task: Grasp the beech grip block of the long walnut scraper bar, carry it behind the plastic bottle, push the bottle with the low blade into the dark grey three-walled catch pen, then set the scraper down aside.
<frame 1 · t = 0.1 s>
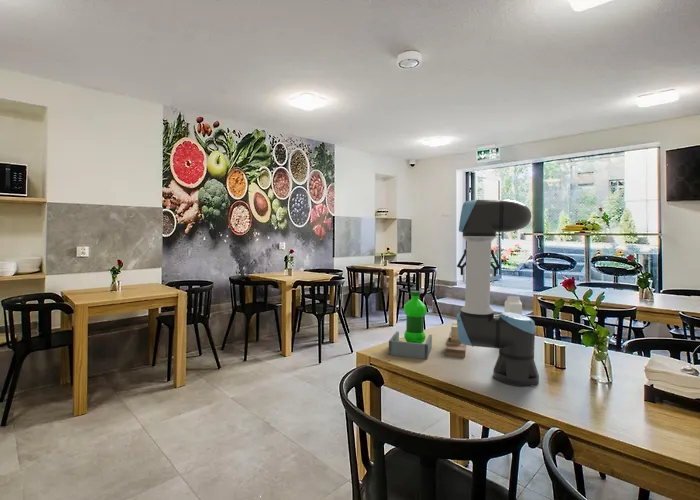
hand: (477, 282, 185), 28 cm above the table, fingers open, 13 cm apart
scraper: (456, 346, 172), on the table
milk: (512, 341, 181), on the table
catch pen: (410, 351, 165), on the table
plastic bottle: (414, 344, 175), on the table
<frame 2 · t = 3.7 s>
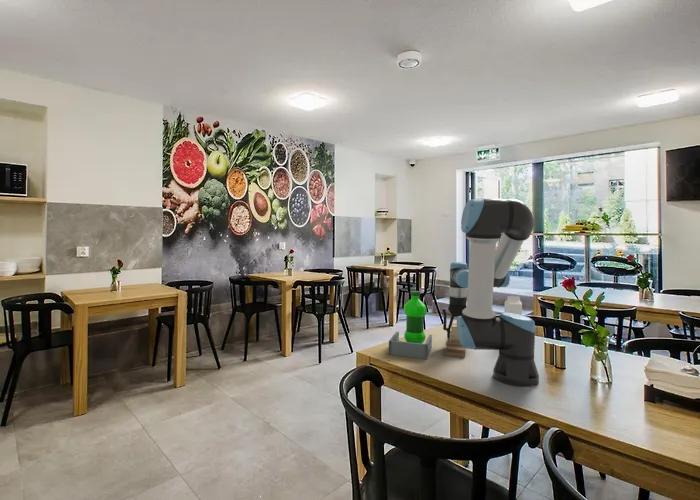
hand: (456, 346, 172), 0 cm above the table, fingers closed on scraper, 5 cm apart
scraper: (456, 346, 172), on the table, touching gripper
everything else where it was.
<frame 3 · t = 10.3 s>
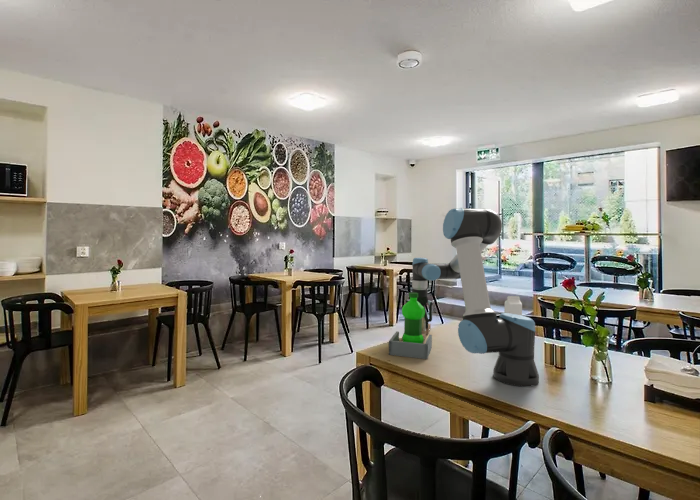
hand: (419, 334, 188), 1 cm above the table, fingers closed on scraper, 5 cm apart
scraper: (419, 334, 188), point 1 cm above the table, touching gripper
plastic bottle: (412, 347, 171), on the table
everything else where it was.
when the fingers open (1 cm above the table, at t = 16.4 s): scraper drops 1 cm, on the table.
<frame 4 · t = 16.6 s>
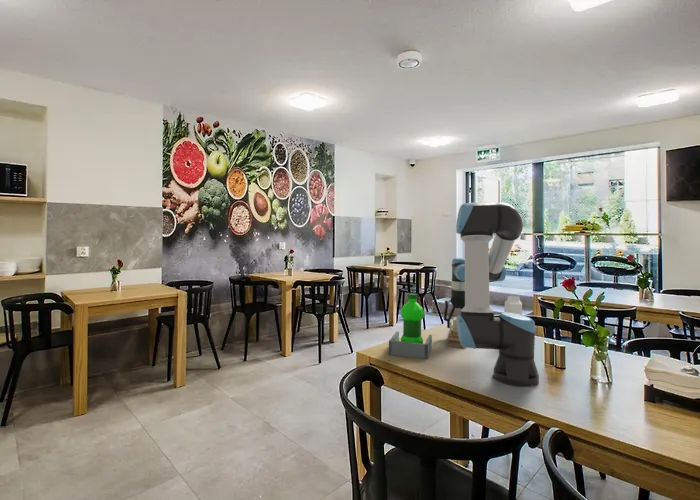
hand: (458, 335, 185), 2 cm above the table, fingers open, 7 cm apart
scraper: (458, 338, 185), on the table
plastic bottle: (411, 349, 168), on the table
everything else where it was.
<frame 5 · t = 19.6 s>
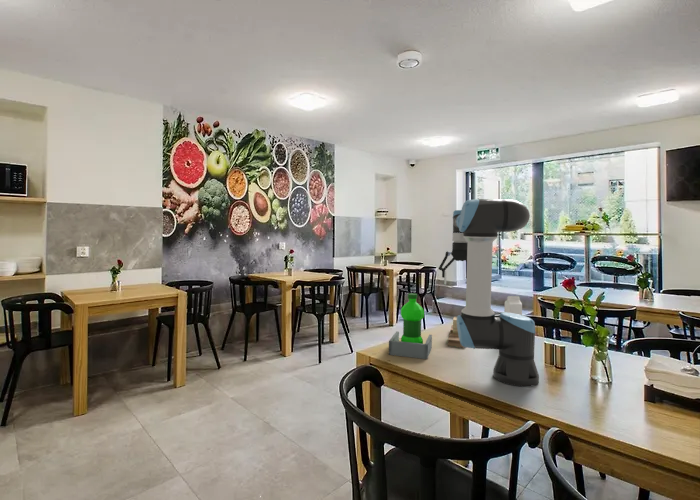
hand: (459, 285, 184), 27 cm above the table, fingers open, 13 cm apart
nothing on the table moved.
at the end: plastic bottle inside the target area on the catch pen (2.2 cm from its centre), point 0.0 cm above the catch pen's base; plastic bottle tilted 0° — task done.
